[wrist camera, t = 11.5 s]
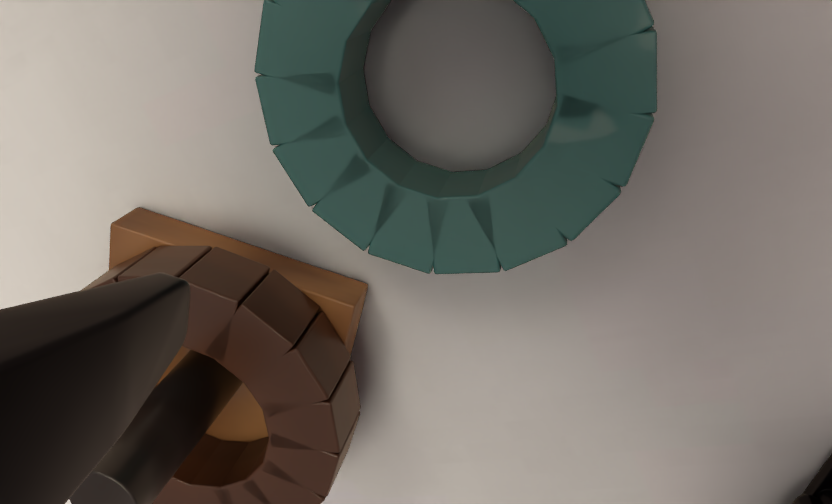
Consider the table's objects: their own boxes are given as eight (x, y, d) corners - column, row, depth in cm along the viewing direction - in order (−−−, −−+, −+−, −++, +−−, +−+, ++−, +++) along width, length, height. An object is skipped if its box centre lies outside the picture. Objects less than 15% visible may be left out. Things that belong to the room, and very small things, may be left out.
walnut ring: (393, 312, 20) (373, 353, 18) (323, 526, 24) (300, 578, 22) (97, 200, 21) (46, 228, 19) (80, 429, 25) (38, 471, 23)
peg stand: (369, 283, 21) (273, 439, 15) (324, 464, 25) (231, 654, 19) (137, 205, 22) (-52, 322, 16) (126, 392, 26) (-31, 551, 19)
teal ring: (715, -67, 16) (734, -67, 14) (570, 283, 20) (569, 321, 18) (323, -176, 16) (288, -190, 14) (267, 184, 21) (234, 209, 19)
